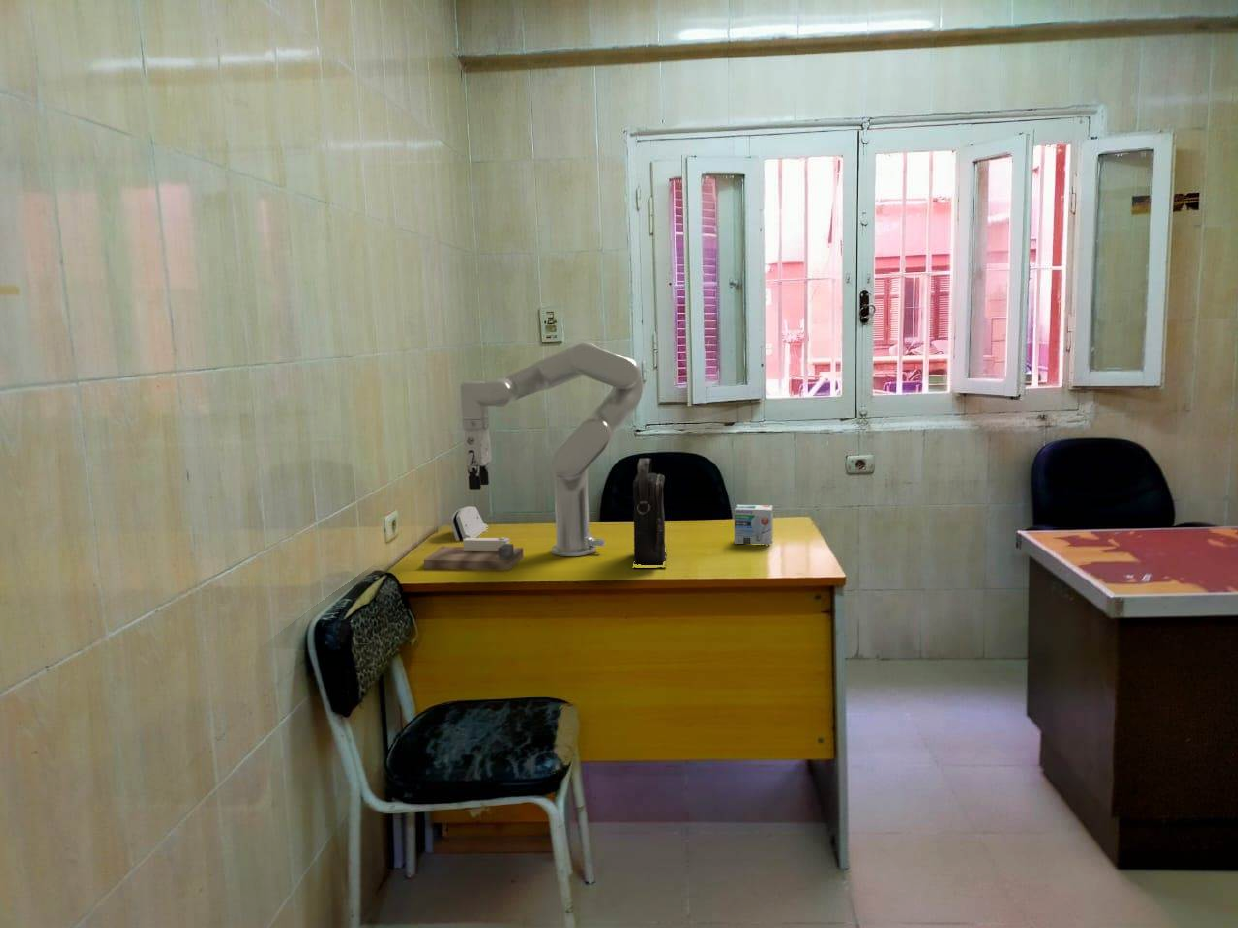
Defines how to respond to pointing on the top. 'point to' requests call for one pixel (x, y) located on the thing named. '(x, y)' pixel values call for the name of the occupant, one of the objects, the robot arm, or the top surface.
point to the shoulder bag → (648, 516)
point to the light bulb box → (754, 524)
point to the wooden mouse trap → (474, 558)
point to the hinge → (467, 523)
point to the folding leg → (484, 544)
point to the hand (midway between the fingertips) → (479, 486)
